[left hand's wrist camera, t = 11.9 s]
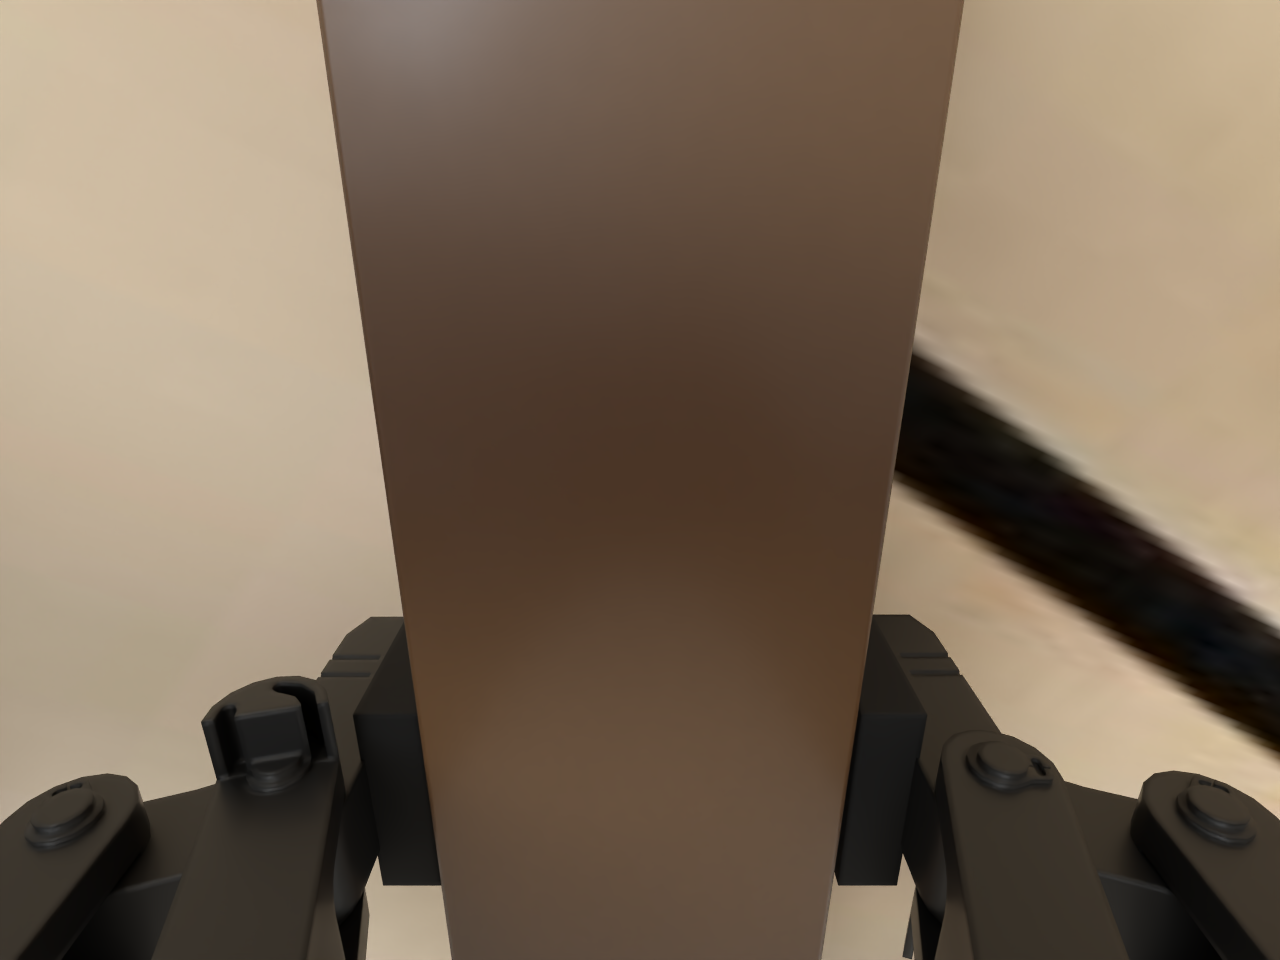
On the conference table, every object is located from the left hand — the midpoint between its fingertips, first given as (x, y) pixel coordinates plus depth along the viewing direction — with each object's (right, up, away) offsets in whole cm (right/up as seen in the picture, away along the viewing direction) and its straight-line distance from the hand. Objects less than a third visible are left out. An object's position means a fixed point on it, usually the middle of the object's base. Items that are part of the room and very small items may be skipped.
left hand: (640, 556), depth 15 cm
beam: (0, +23, -8) cm, 24 cm away
